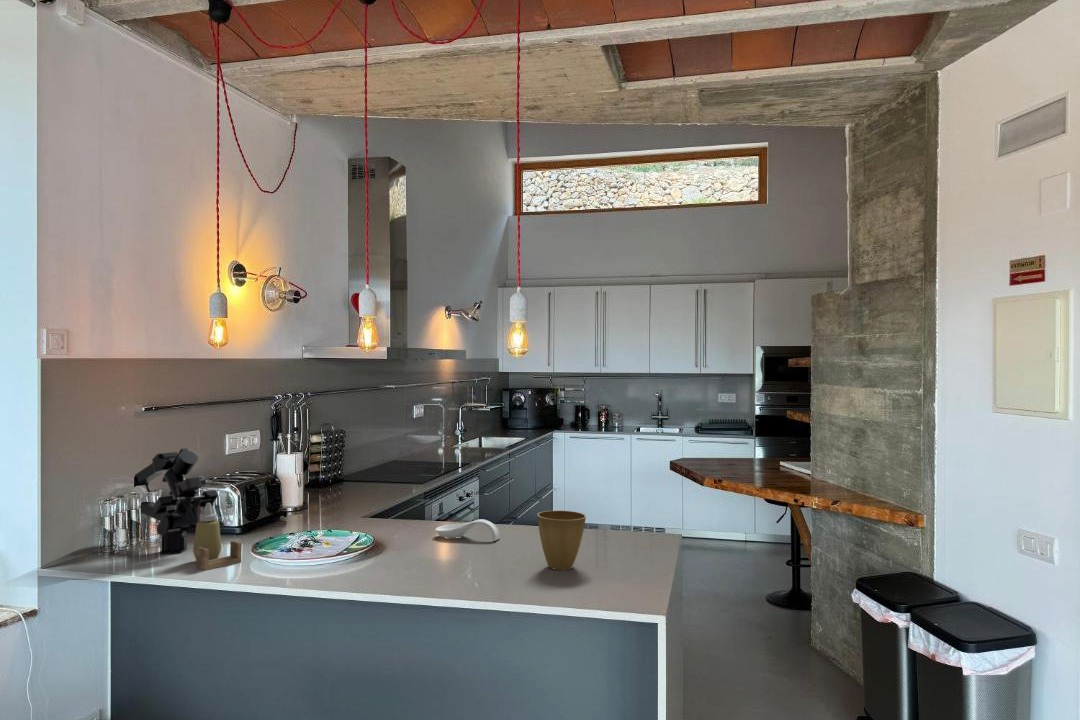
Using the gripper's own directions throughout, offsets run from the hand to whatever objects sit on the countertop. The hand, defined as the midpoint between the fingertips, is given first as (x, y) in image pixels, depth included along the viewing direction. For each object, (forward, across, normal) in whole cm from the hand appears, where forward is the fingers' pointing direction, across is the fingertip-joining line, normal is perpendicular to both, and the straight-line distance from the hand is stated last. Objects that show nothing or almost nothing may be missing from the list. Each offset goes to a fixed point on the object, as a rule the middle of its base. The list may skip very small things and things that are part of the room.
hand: (195, 522), depth 225 cm
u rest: (+18, 0, -2) cm, 18 cm away
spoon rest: (+43, +73, -27) cm, 89 cm away
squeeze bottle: (+13, 0, +3) cm, 13 cm away
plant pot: (+77, +62, -61) cm, 116 cm away
